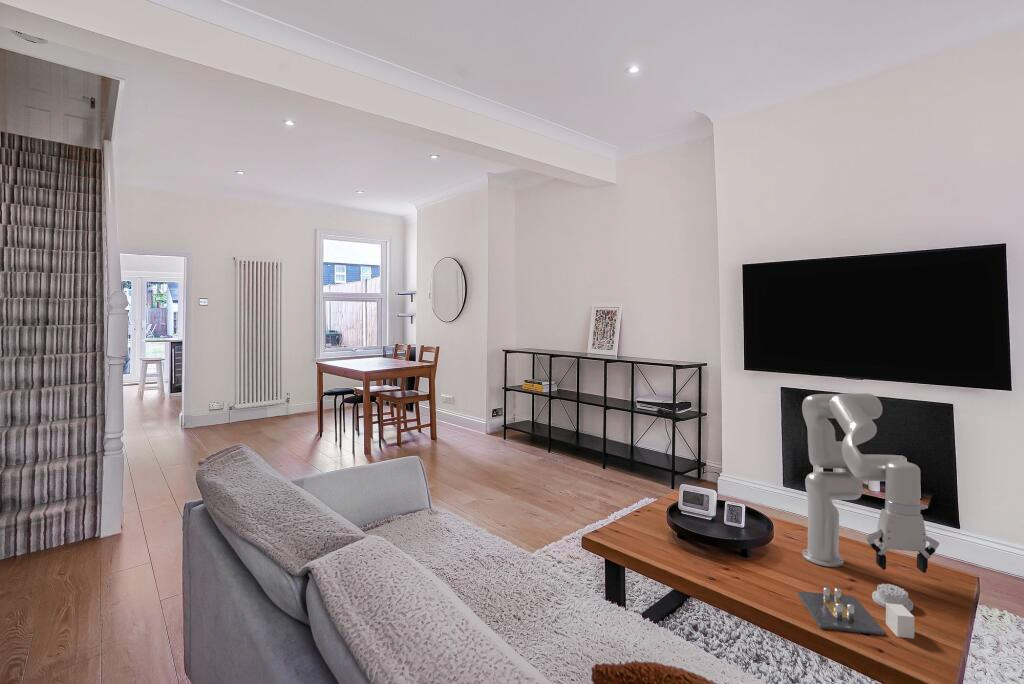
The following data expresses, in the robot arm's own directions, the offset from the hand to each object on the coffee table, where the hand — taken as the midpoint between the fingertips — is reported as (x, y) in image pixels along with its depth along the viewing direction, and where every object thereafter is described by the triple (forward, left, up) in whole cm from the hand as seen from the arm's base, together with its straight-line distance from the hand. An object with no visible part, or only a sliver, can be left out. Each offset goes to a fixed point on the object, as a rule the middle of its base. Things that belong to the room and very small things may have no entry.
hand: (901, 569), depth 138 cm
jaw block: (0, 0, -18) cm, 18 cm away
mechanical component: (-16, +5, -18) cm, 24 cm away
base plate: (-6, -13, -18) cm, 23 cm away
